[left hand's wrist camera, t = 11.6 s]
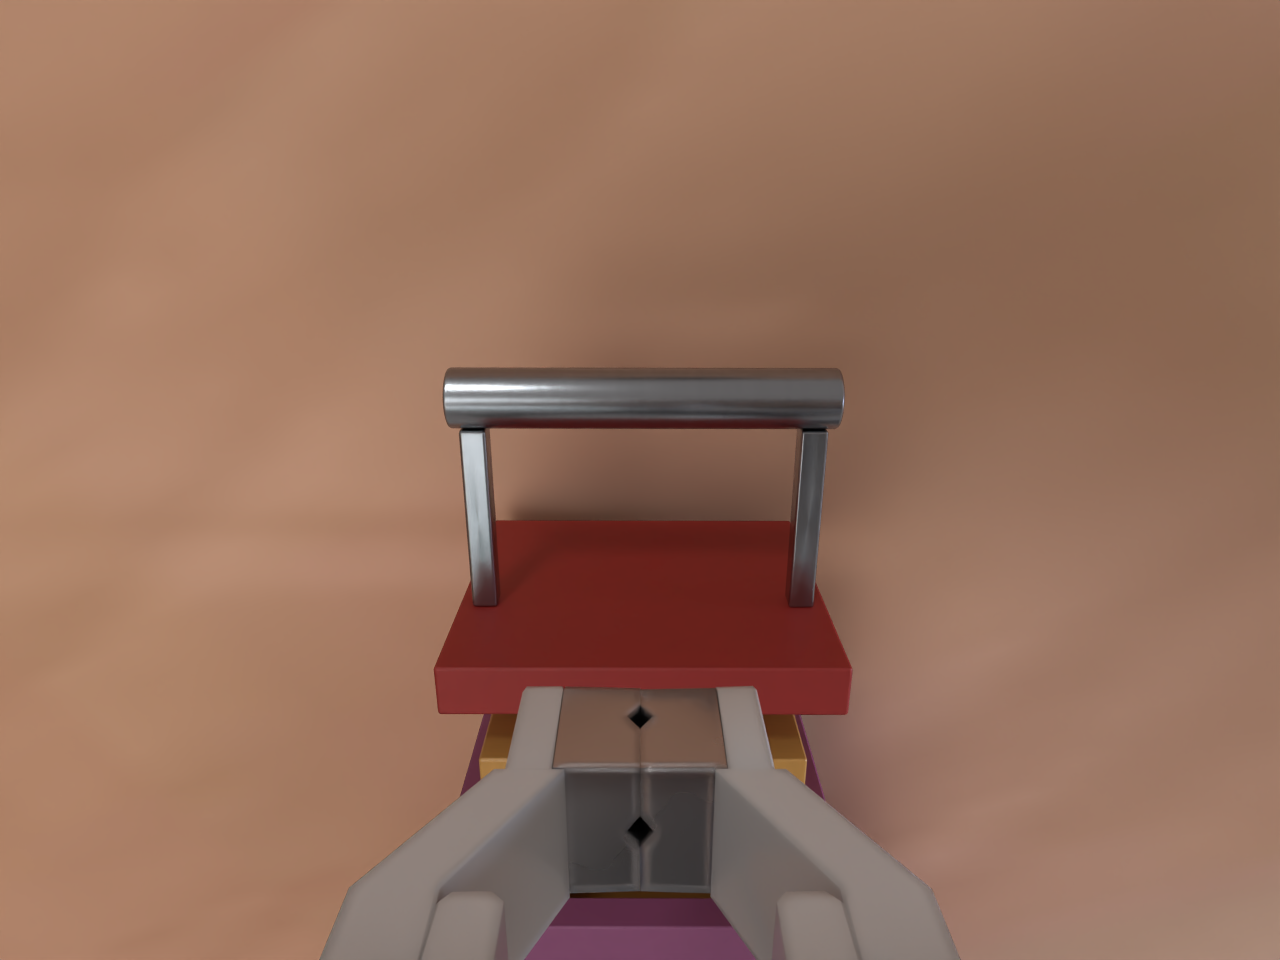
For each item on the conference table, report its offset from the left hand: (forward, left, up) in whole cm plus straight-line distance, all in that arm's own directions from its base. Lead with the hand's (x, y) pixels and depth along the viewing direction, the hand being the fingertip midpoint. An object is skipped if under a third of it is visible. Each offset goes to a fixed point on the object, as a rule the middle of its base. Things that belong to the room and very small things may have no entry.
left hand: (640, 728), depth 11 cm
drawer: (-4, +5, -14) cm, 15 cm away
